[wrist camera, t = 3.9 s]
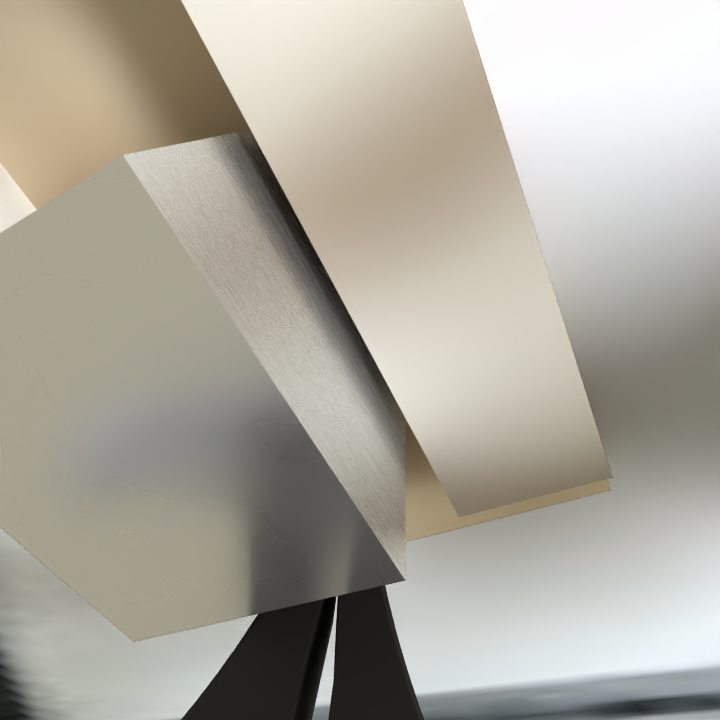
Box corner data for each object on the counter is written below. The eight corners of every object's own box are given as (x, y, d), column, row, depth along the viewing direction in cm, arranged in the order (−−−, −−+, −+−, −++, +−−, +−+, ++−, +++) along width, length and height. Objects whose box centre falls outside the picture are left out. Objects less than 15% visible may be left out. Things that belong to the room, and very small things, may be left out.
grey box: (406, 385, 11) (405, 580, 6) (139, 481, 13) (7, 670, 9) (271, 125, 8) (122, 154, 4) (-26, 300, 11) (-324, 440, 6)
